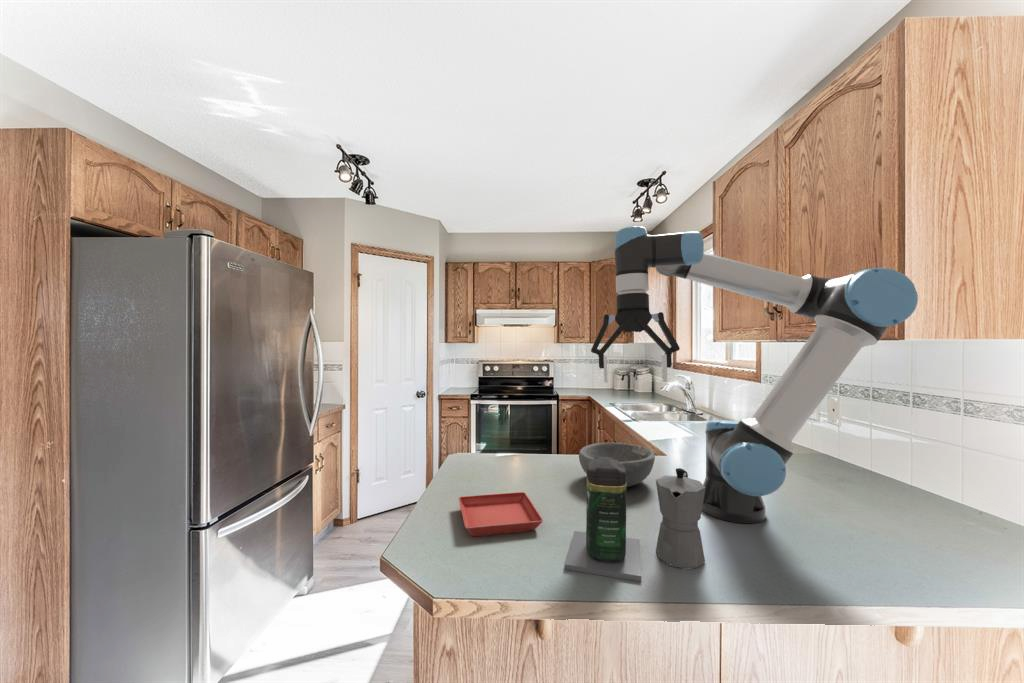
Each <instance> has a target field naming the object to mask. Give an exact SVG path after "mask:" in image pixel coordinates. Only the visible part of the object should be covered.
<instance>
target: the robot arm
mask: <svg viewBox="0 0 1024 683" xmlns="http://www.w3.org/2000/svg"><path fill="white" fill-rule="evenodd" d="M704 245H705V243H704V237H703V233H702V232H700V231H687V230H686V231H683V232H675V233H673V232H672V233H662V234H653V235H651V234H648V231H647V228H646V227H644V226H627V227H623V228H620V229H619V230H617V231H616V233H615V235H614V263H615V265H614V266H615V268H614V269H615V292H616V294H617V296H616V297H615V298H616V299H615V300H616V301H615V302H616V314H615V315H611V314H607V313H606V314H604V316H603V323H602V326H601V328H600V330H599V332H598V335H597V336H596V338H595V341H594V342H593V345H592V347H591V348H590V351H591V353H593V354H595V355H597V357H598V367H599V369H603V382H604V383H605V384H606V383H607V384H608V356H607V355H606V354H605V353H606V351H607V350H608V349H609V348H610V347H611V346H612V344H614V342H615V341H616V339H617V338H618V337H619V336H620V335H621V333H623V332H625V333H632V332H634V333H641V332H643V331H644V332H645V333H646V334H647V335H648V336H649V337H650V338H651V339H652V341H653V342H655V344H656V345H657V346H658V347H659V348H660V349H661V350H662V351H663V352H664V353H661V355H660V356H661V380H662V382H663V383H668V368H672V366H673V365H672V363H673V362H672V354H673V353H676V352H678V351H680V348H681V347H680V346H679V344H678V342H677V340H676V338H675V337H674V335H673V333H672V332H671V330H670V328H669V326H668V324H667V323H666V321H665V314H664V312H662V311H660V312H658V313H651V312H650V294H648V293H647V292H648V291H649V290H650V288H649V268H655V270H656V272H658V273H659V274H660V275H662V276H665V277H672V276H673V277H677V278H680V279H685V280H689V281H692V282H693V281H694V282H696V283H700V284H703V285H706V286H711V287H714V288H718V289H722V290H725V291H728V292H732V293H736V294H739V295H742V296H747V297H750V298H754V299H757V300H760V301H764V302H768V303H771V304H775V305H779V306H782V307H787V309H788V310H789V312H790V313H792V314H795V315H799V316H801V317H805V318H808V319H812V320H814V322H815V324H816V328H815V329H814V331H813V332H812V333H811V335H810V336H809V338H808V339H807V341H805V344H804V345H803V346H802V347H801V349H800V350H799V352H797V354H796V355H795V357H794V359H793V360H792V361H791V362H790V363H789V366H788V367H787V368H786V370H785V371H784V373H783V374H782V375H781V376H780V378H779V379H778V381H777V382H776V383H775V385H774V386H773V388H772V389H771V390H770V392H769V393H768V394H767V396H766V397H765V399H764V400H763V401H762V403H761V404H760V405H759V407H758V409H757V410H756V411H755V412H754V413H753V415H752V416H751V417H748V418H747V417H746V418H742V419H740V420H739V421H738V420H721V419H720V420H719V419H714V420H709V421H707V422H706V427H705V432H704V433H705V478H704V480H703V483H702V484H703V485H704V486H705V487H706V488H705V494H704V500H703V506H702V512H703V513H705V514H707V515H709V516H710V517H711V516H712V517H714V518H716V519H719V520H723V521H727V522H731V523H739V524H756V523H760V522H762V521H764V520H765V519H766V505H765V503H764V500H763V497H765V496H768V495H772V494H773V493H775V492H777V491H778V490H779V489H780V488H781V487H782V486H783V484H784V482H785V480H786V477H787V468H786V464H787V463H788V461H789V460H791V458H792V456H793V455H794V453H795V450H794V446H793V440H794V438H795V437H796V436H797V435H798V434H799V432H800V431H801V429H802V428H803V427H804V426H805V424H806V423H807V422H808V420H809V418H811V416H812V414H814V412H815V411H816V409H817V408H818V407H819V406H820V404H821V403H822V401H823V400H824V399H825V398H826V396H827V394H828V393H829V392H830V391H831V389H832V388H833V387H834V385H835V384H836V382H837V381H838V380H839V379H840V377H841V376H842V374H843V373H844V372H845V371H846V369H847V368H848V367H849V365H850V364H851V363H852V362H853V360H854V358H855V357H856V356H857V354H858V353H859V352H860V351H861V349H862V348H864V347H868V346H875V345H877V343H878V342H879V340H880V339H881V338H882V337H883V336H884V335H885V333H886V331H887V330H888V328H889V327H893V326H896V325H899V324H901V323H903V322H905V320H907V319H909V318H910V317H911V316H912V315H913V313H914V312H915V310H916V309H917V305H918V300H919V299H918V298H919V295H918V292H917V290H916V287H915V283H914V282H913V281H912V280H911V278H910V277H908V276H907V275H905V273H902V272H900V271H898V270H896V269H892V268H889V267H875V268H865V269H861V270H859V271H856V272H855V273H852V274H851V273H850V274H847V275H844V276H839V277H821V276H820V277H819V276H815V275H811V274H806V275H804V276H798V275H793V274H789V273H785V272H781V271H778V270H774V269H771V268H770V269H769V268H765V267H762V266H757V265H755V264H750V263H745V262H743V261H738V260H735V259H730V258H727V257H723V256H718V255H715V254H710V253H708V252H707V253H706V252H704V250H705V248H704ZM652 319H653V321H654V322H656V323H657V324H658V326H659V327H660V330H661V331H662V333H663V334H664V336H665V339H666V340H667V342H668V343H669V346H670V347H669V346H668V345H667V344H666V343H665V341H663V339H661V337H660V336H659V335H658V334H657V333H656V331H654V330H653V329H652V328H651V327H650V326H649V325H648V324H649V323H650V322H651V320H652ZM613 321H615V322H616V324H618V327H617V329H616V330H615V331H614V332H613V334H612V335H611V336H610V338H608V340H607V341H606V342H605V343H604V345H602V347H601V348H600V349H599V348H598V347H599V346H600V343H601V341H602V340H603V337H604V334H605V333H606V330H607V329H608V326H609V325H610V324H612V323H613Z"/></svg>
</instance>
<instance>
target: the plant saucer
mask: <svg viewBox="0 0 1024 683" xmlns="http://www.w3.org/2000/svg"><path fill="white" fill-rule="evenodd" d="M458 503H459V507H460V510H461V515H462V519H463V525H464V528H465V530H466V531H467V532H468V533H469V534H470V535H471V536H473V537H480V536H482V537H483V536H491V535H500V534H510V533H521V532H531V531H534V530H536V529H537V528H538V527H539V526H540V525H541V524H542V523H543V522H544V518H543V517H542V516H541V514H540V512H539V511H538V510H537V508H536V507H535V505H534V504H533V502H532V501H531V499H530V498H529V496H528V495H527V493H526V492H525V491H521V492H520V491H519V492H506V493H494V494H493V493H492V494H478V495H465V496H463V495H462V496H459V497H458Z"/></svg>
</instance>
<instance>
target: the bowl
mask: <svg viewBox="0 0 1024 683" xmlns="http://www.w3.org/2000/svg"><path fill="white" fill-rule="evenodd" d="M595 457H611V458H615V460H617V461H619V462H620V463H621V464H622V465H623V466H624V468H625V470H626V488H629V487H633V486H637V484H640V483H641V482H643V481H644V480H645V479H646V478H648V476H649V475H650V474H651V472H652V470H653V467H654V463H655V459H656V456H655V453H654V451H653V450H652V449H650V448H649V447H646V446H641V445H638V444H629V443H623V442H600V443H599V442H596V443H591V444H588V445H585V446H583V447H581V449H579V453H578V460H579V463H580V467H581V468H582V470H583V471H584V473H585V474H586V475H587V465H588V462H589V461H591V460H592V459H594V458H595Z"/></svg>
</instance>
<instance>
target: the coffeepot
mask: <svg viewBox="0 0 1024 683" xmlns="http://www.w3.org/2000/svg"><path fill="white" fill-rule="evenodd" d="M675 473H676V475H664V476H660V477H659V478H657V479H655V484H656V490H657V498H658V503H659V511H660V514H661V516H662V520H661V522H660V526H659V531H658V535H657V542H656V547H655V551H656V553H657V556H658V558H659V559H660V560H661V561H663V563H665V562H666V564H667V563H668V565H669V564H671V565H670V566H672V565H673V566H672V567H674V566H676V567H675V568H678V567H679V568H680V569H684V568H694V569H698V568H700V567H702V565H703V564H704V563H705V562H706V559H705V558H706V557H705V553H704V547H703V541H702V535H701V529H700V528H699V525H698V524H699V521H700V520H701V519H702V512H703V511H702V506H703V500H704V494H705V488H706V487H705V486H704V485H703V483H702V482H701V481H700V480H697V479H693V478H690V477H689V474H688V472H687V471H686V470H685V469H684V468H680V467H678V468H675ZM699 566H700V567H699Z"/></svg>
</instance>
